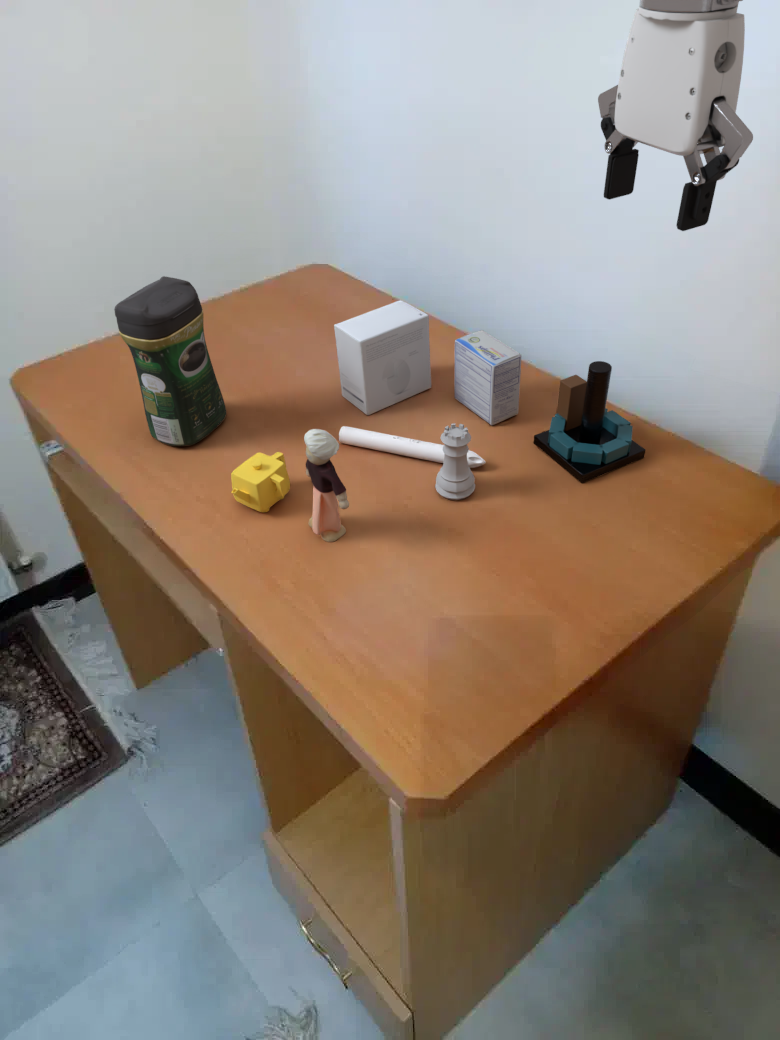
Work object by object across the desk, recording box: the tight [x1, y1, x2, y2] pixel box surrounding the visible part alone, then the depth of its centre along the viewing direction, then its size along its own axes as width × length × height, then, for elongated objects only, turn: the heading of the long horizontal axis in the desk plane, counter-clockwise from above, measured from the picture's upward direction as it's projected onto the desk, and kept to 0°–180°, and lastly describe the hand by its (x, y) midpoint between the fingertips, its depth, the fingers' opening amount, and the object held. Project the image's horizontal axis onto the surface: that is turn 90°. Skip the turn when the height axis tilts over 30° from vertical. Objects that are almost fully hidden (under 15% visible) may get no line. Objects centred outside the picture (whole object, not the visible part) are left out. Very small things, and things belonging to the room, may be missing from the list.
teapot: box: [230, 451, 291, 513], centre depth 86 cm, size 8×6×5 cm
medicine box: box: [453, 329, 522, 426], centre depth 97 cm, size 8×4×9 cm, turn 32°
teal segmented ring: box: [548, 374, 634, 465], centre depth 90 cm, size 9×9×6 cm
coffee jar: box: [113, 275, 227, 447], centre depth 94 cm, size 10×8×19 cm
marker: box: [338, 425, 487, 469], centre depth 92 cm, size 18×2×2 cm, turn 68°
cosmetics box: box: [333, 299, 432, 416], centre depth 101 cm, size 10×6×10 cm, turn 125°
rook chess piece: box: [434, 422, 476, 501], centre depth 85 cm, size 4×4×8 cm
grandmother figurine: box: [303, 428, 350, 543], centre depth 80 cm, size 8×4×13 cm, turn 45°
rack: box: [533, 360, 646, 484], centre depth 89 cm, size 9×9×11 cm
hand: (653, 210), depth 73 cm, fingers open, 9 cm apart
